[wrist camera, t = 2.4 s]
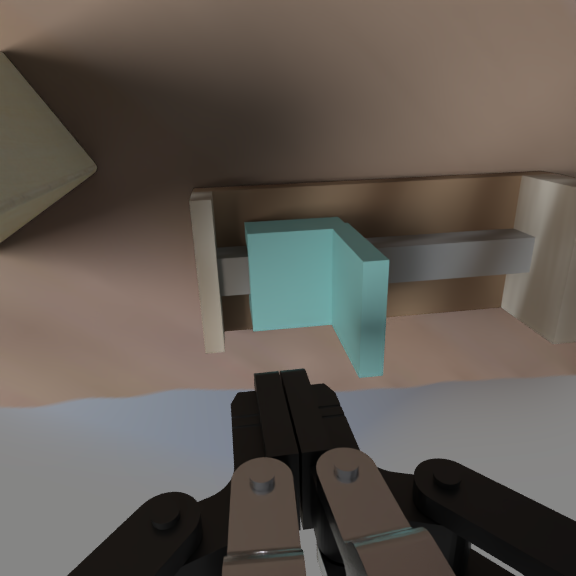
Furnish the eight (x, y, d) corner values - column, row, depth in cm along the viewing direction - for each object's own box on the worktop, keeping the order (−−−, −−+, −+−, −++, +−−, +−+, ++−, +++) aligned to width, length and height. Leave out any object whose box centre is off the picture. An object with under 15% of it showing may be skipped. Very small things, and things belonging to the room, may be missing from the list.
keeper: (338, 213, 24) (389, 259, 17) (337, 300, 26) (382, 375, 19) (244, 219, 24) (255, 269, 16) (249, 307, 26) (261, 387, 18)
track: (541, 171, 27) (625, 187, 21) (519, 297, 30) (588, 340, 24) (193, 188, 24) (185, 212, 19) (207, 323, 27) (204, 378, 22)
